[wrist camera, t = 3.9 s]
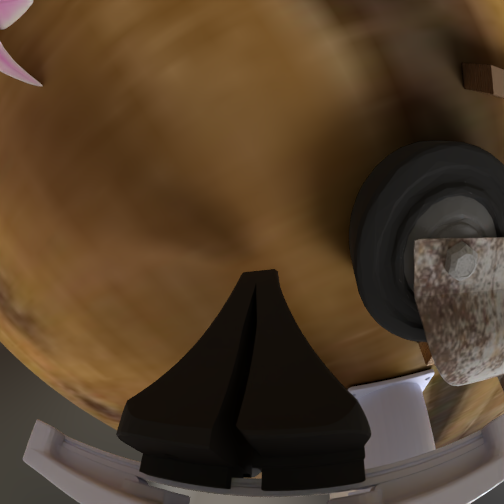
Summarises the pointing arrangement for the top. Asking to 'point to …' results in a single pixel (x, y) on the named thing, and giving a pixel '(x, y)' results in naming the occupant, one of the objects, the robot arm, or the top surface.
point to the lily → (3, 15)
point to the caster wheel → (436, 254)
